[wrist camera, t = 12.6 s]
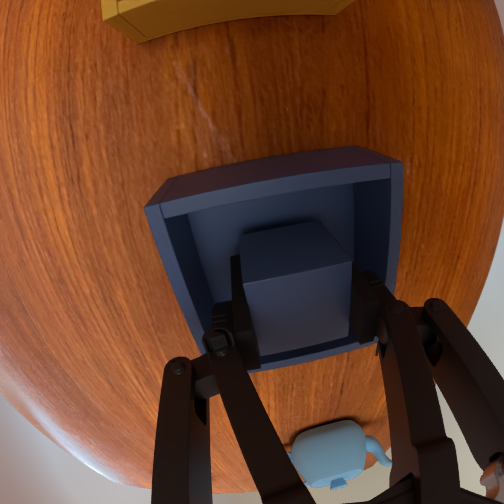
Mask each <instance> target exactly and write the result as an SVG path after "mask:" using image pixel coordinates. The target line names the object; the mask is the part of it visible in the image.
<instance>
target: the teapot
mask: <svg viewBox="0 0 504 504" xmlns="http://www.w3.org/2000/svg"><path fill="white" fill-rule="evenodd" d="M366 451H368V452H371V453H373V454H374V455H375V456H376V458H377V459H378V461H379V462H380V463H381V464H382V465H383V466H392V460H390V459H389V458H388V457H387V456H386V454H385V452H384V450H383V448H382V446H381V444H380V443H379V441H378V440H377V439H376V438H374V437H372V436H369V435H365V433H364V431H363V429H362V428H361V426H359V425H358V424H357V423H355V422H354V421H352V420H343V421H339V422H335V423H331V424H327V425H324V426H320V427H317V428H314V429H310V430H307V431H305V432H302V433H301V434H299V435H298V436H297V437H296V439H295V441H294V443H293V446H292V448H291V452H287V454H288V456H289V457H290V460H291V462H292V464H293V465H295V467H296V469H297V470H298V472H299V473H300V475H301V476H302V477H303V479H304V480H305V482H303V483H304V484H305V486H306V485H308V484H309V485H310V486H311V487H313V488H321V487H325V486H329V485H331V487H330V490H336V489H340V488H343V487H345V486H347V483H346V482H345V481H347V480H350V479H352V478H355V477H356V476H358V475H359V474H361V473H362V471H363V469H364V465H365V459H366Z"/></svg>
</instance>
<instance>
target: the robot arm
mask: <svg viewBox="0 0 504 504" xmlns="http://www.w3.org/2000/svg"><path fill="white" fill-rule="evenodd" d="M334 239H335V238H334ZM335 240H336V239H335ZM338 244H339V243H338ZM339 245H340V244H339ZM341 248H342V247H341ZM342 249H343V248H342ZM344 252H345V251H344ZM345 253H346V252H345ZM347 256H348V255H347ZM348 257H349V256H348ZM350 260H351V259H350ZM351 261H352V260H351ZM230 267H231V292H232V300H229V301H224V302H218V303H216V304H215V306H214V307H213V309H212V324H211V329H209V330H207V331H206V332H205V333H204V334H203V336H202V344H203V346H204V349H205V351H206V353H205V354H203V355H202V356H200V357H198V358H195V359H193V360H189V359H188V358H186V357H176V358H173V359H171V360H170V361H169V362H168V363H167V364H166V366H165V368H164V374H163V381H162V388H161V395H160V403H159V411H158V420H157V429H156V439H155V450H154V462H153V476H152V495H151V504H213V503H212V483H211V459H210V413H209V398H210V397H212V396H215V395H217V394H219V393H220V395H221V398H222V401H223V404H224V407H225V409H226V412H227V415H228V418H229V420H230V423H231V426H232V428H233V431H234V434H235V436H236V439H237V441H238V444H239V446H240V449H241V451H242V454H243V456H244V459H245V461H246V464H247V466H248V468H249V471H250V473H251V475H252V478H253V480H254V482H255V485H256V487H257V489H258V491H259V493H260V496H261V500H262V503H263V504H316V503H315V501H314V499H313V498H312V496H311V494H310V492H309V491H308V489H307V487H306V486H305V484H304V483H303V482H302V480H301V478H300V477H299V475H298V473H297V471H296V469H295V467H294V466H293V464H292V462H291V460H290V458H289V456H288V454H287V452H286V450H285V448H284V446H283V445H282V443H281V441H280V439H279V437H278V435H277V433H276V431H275V429H274V427H273V425H272V423H271V421H270V419H269V417H268V415H267V413H266V410H265V408H264V406H263V404H262V402H261V400H260V398H259V396H258V394H257V392H256V389H255V387H254V385H253V383H252V381H251V379H250V376H249V374H248V372H247V371H250V370H256V369H261V362H260V355H259V348H258V342H257V338H256V334H255V330H254V326H253V322H252V317H251V313H250V309H249V305H248V304H247V299H246V295H245V291H244V287H243V281H242V271H241V261H240V255H235V256H230ZM349 324H350V326H351V328H352V330H353V332H354V334H355V336H356V338H357V340H358V342H359V344H360V345H362V344H366V343H369V342H372V341H374V336H375V334H376V336H377V337H378V344H377V349H376V355H375V356H378V352H379V357H380V363H381V369H382V375H383V381H384V387H385V394H386V402H387V410H388V418H389V428H390V439H391V452H392V469H391V472H390V482H389V483H390V484H389V486H390V488H389V489H387V490H386V491H384V492H383V493H381V494H379V495H378V496H376V497H375V498H373V499H371V500H370V501H365V502H356V503H345V504H504V380H503V378H502V376H501V375H500V374H499V372H498V370H497V369H496V368H495V366H494V365H493V363H492V362H491V360H490V359H489V357H488V356H487V355H486V353H485V352H484V351H483V349H482V348H481V346H480V345H479V344H478V342H477V341H476V340H475V338H474V337H473V336H472V335H471V333H470V332H469V331H468V329H467V328H466V327H465V326H464V324H463V323H462V322H461V321H460V319H459V318H458V317H457V316H456V314H455V313H454V312H453V311H452V310H451V308H450V307H449V306H448V305H447V304H446V303H445V302H444V301H443V300H441V299H439V298H430V299H428V300H426V302H425V303H424V307H409V306H408V304H406V303H405V302H403V301H400V300H396V298H395V297H394V296H393V294H392V293H391V292H390V290H389V289H388V288H387V287H386V285H385V284H384V283H383V281H381V279H380V278H379V276H378V275H377V274H376V273H374V272H372V271H371V270H367V271H363V272H360V271H359V270H358V268H357V267H356V266H355V264H354V263H353V262H352V277H351V296H350V314H349ZM432 376H433V377H432ZM433 378H434V380H435V382H436V383H437V385H438V387H439V389H440V391H441V392H442V394H443V396H444V398H445V400H446V402H447V403H448V405H449V407H450V409H451V411H452V413H453V415H454V417H455V419H456V421H457V423H458V425H459V427H460V429H461V431H462V433H463V435H464V437H465V440H466V442H467V444H468V446H469V448H470V451H471V453H472V455H473V457H474V459H475V460H476V462H477V463H478V465H479V466H480V468H481V469H482V470H483V471H484V472H483V475H482V476H481V478H480V483H481V485H483V486H485V487H486V497H484V496H482V495H479V494H476V493H473V492H471V491H468V490H465V489H463V488H461V487H460V481H459V470H458V463H457V455H456V449H455V445H454V442H453V440H452V439H451V438H448V437H447V436H446V433H445V429H444V424H443V418H442V414H441V409H440V405H439V401H438V396H437V392H436V388H435V384H434V381H433Z"/></svg>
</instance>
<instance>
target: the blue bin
mask: <svg viewBox="0 0 504 504" xmlns="http://www.w3.org/2000/svg"><path fill="white" fill-rule="evenodd" d="M402 206H403V162H401V161H398V160H396V159H393V158H390V157H388V156H385V155H382V154H379V153H377V152H374V151H371V150H368V149H365V148H362V147H359V146H348V147H338V148H329V149H321V150H313V151H305V152H298V153H291V154H285V155H278V156H272V157H266V158H260V159H255V160H249V161H244V162H239V163H234V164H229V165H224V166H219V167H215V168H210V169H206V170H201V171H197V172H193V173H189V174H185V175H180V176H176V177H173V178H169V179H167V180H166V181H165V183H164V184H163V185H162V186H161V187H160V188H159V190H158V191H157V192H156V193H155V194H154V196H153V197H152V198H151V199H150V200H149V202H148V203H147V204H146V205H145V207H144V210H145V214H146V217H147V220H148V223H149V226H150V229H151V231H152V234H153V237H154V240H155V243H156V246H157V249H158V251H159V254H160V257H161V259H162V262H163V265H164V267H165V270H166V273H167V275H168V278H169V280H170V283H171V285H172V288H173V290H174V293H175V295H176V298H177V300H178V303H179V305H180V307H181V310H182V312H183V315H184V317H185V319H186V321H187V324H188V326H189V328H190V331H191V333H192V335H193V337H194V339H195V342H196V344H197V346H198V348H199V350H200V352H201V355H203V354H205V353H206V351H205V349H204V346H203V344H202V336H203V334H204V333H205V332H206V331H207V330H209V329H211V324H212V309H213V307H214V306H215V304H216V303H218V302H224V301H229V300H232V292H231V267H230V256H235V255H240V251H239V240H238V236H239V235H244V234H249V233H254V232H259V231H264V230H269V229H274V228H280V227H285V226H290V225H295V224H301V223H306V222H311V221H317V220H320V221H321V222H322V223H323V225H324V226H325V227H326V228H327V230H328V231H329V232H330V233H331V235H332V236H333V237H334V238H335V239H336V241H337V242H338V243H339V244H340V246H341V247H342V248H343V250H344V251H345V252H346V254H347V255H348V256H349V258H350V259H351V260H352V262H353V263H354V264H355V266H356V267H357V268H358V270H359V271H360V272H363V271H367V270H371V271H372V272H374V273H376V274H377V275H378V276H379V278H380V279H381V281H383V283H384V284H385V285H386V287H387V288H388V289H389V290H390V292H391V293H392V294H393V296H394V289H395V283H396V275H397V268H398V259H399V250H400V239H401V225H402ZM375 343H378V337H377V336H376V334H375V336H374V341H372V342H369V343H366V344H362V345H360V344H359V342H358V340H357V338H356V336H355V334H354V332H353V330H352V328H351V326H350V324H349V331H348V336H347V337H343V338H340V339H336V340H332V341H328V342H324V343H320V344H316V345H312V346H307V347H303V348H299V349H294V350H289V351H285V352H280V353H275V354H269V355H264V356H261V355H260V352H259V355H260V362H261V369H256V370H250V371H247V372H248V373H254V372H260V371H265V370H271V369H276V368H281V367H286V366H291V365H296V364H300V363H305V362H309V361H313V360H317V359H321V358H325V357H329V356H333V355H337V354H341V353H344V352H348V351H351V350H355V349H358V348H362V347H365V346H368V345H372V344H375Z"/></svg>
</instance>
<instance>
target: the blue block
mask: <svg viewBox="0 0 504 504" xmlns="http://www.w3.org/2000/svg"><path fill="white" fill-rule="evenodd" d="M238 240H239V251H240V261H241V271H242V281H243V287H244V291H245V295H246V299H247V304H248V305H249V309H250V313H251V317H252V322H253V326H254V330H255V334H256V338H257V342H258V348H259V352H260V355H261V356H264V355H269V354H275V353H280V352H285V351H289V350H294V349H299V348H303V347H307V346H312V345H316V344H320V343H324V342H328V341H332V340H336V339H340V338H343V337H347V336H348V331H349V314H350V296H351V277H352V261H351V260H350V258H349V257H348V256H347V254H346V253H345V252H344V250H343V249H342V248H341V246H340V245H339V244H338V242H337V241H336V240H335V239H334V237H333V236H332V235H331V233H330V232H329V231H328V230H327V228H326V227H325V226H324V225H323V223H322V222H321V221H320V220H317V221H311V222H306V223H301V224H295V225H290V226H285V227H280V228H274V229H269V230H264V231H259V232H254V233H249V234H244V235H239V236H238Z"/></svg>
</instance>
